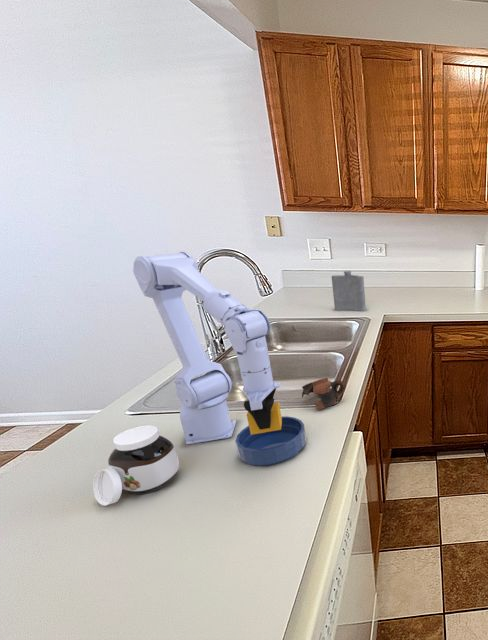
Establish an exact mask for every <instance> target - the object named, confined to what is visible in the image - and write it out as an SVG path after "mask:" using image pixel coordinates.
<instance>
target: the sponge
mask: <svg viewBox="0 0 488 640" xmlns="http://www.w3.org/2000/svg"><path fill="white" fill-rule="evenodd" d="M281 416H282V413H281V406H280V402H279V401H275V402H274V403H273V406H272V409H271V425H270V428H267V429H261V430H260V429H259V427H258V426H257V424H256V422H255V420H254V418H253V416H252V415H251V414H250V413H249V412H248V411H247V413H246V418H247V423H248V426H249V428H250V433H251V435H253V434H258V433H264V432H270V431H276V430H281V425H282V418H281Z"/></svg>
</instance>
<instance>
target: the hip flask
mask: <svg viewBox="0 0 488 640" xmlns="http://www.w3.org/2000/svg"><path fill="white" fill-rule="evenodd" d="M343 274H344V275H343ZM343 274H342V275H337V274H335V275H331V285H332V296H333V304H334V310H335V311H356V312H364V311H365V312H366V310H367V305H366V293H365V280H364V279H365V278H364V276H363V275H359V274H352V271H351V270H344V271H343Z"/></svg>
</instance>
